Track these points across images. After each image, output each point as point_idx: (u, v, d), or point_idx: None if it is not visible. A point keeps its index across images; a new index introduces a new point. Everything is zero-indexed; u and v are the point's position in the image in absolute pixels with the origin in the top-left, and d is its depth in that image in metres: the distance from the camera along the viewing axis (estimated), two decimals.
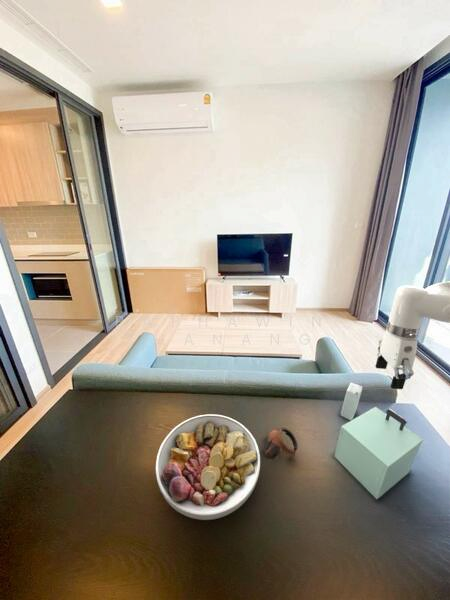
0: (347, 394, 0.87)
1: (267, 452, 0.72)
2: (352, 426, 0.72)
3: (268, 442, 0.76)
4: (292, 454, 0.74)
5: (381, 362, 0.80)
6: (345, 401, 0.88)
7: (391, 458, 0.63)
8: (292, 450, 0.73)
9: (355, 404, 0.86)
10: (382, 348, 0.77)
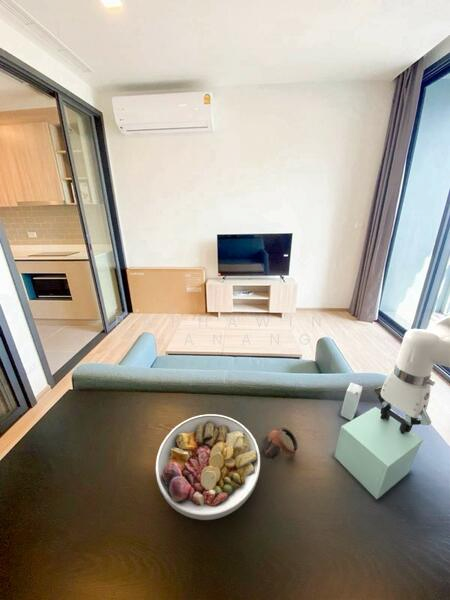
0: (347, 394, 0.87)
1: (267, 452, 0.72)
2: (352, 426, 0.72)
3: (268, 442, 0.76)
4: (292, 454, 0.74)
5: None
6: (345, 401, 0.88)
7: (391, 458, 0.63)
8: (292, 450, 0.73)
9: (355, 404, 0.86)
10: (386, 394, 0.71)
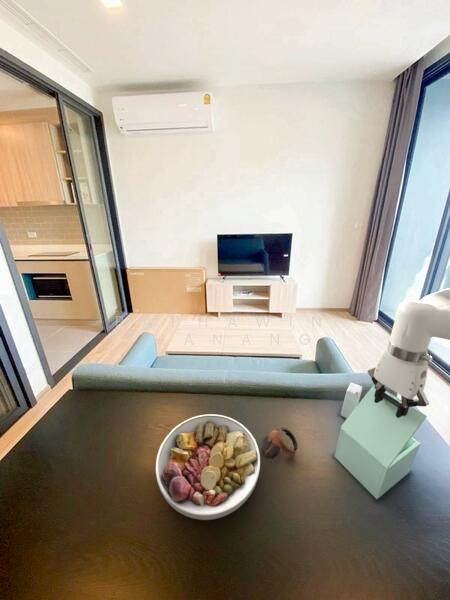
0: (347, 394, 0.87)
1: (267, 452, 0.72)
2: (351, 423, 0.71)
3: (268, 442, 0.76)
4: (292, 454, 0.74)
5: (380, 395, 0.67)
6: (345, 401, 0.88)
7: (390, 455, 0.61)
8: (292, 450, 0.73)
9: (355, 404, 0.86)
10: (380, 374, 0.65)
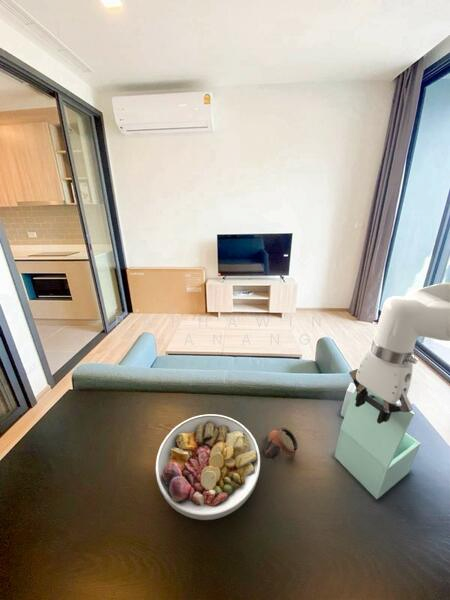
0: (347, 394, 0.87)
1: (267, 452, 0.72)
2: (348, 423, 0.70)
3: (268, 442, 0.76)
4: (292, 454, 0.74)
5: (362, 398, 0.63)
6: (345, 401, 0.88)
7: (387, 456, 0.61)
8: (292, 450, 0.73)
9: None
10: (362, 376, 0.60)
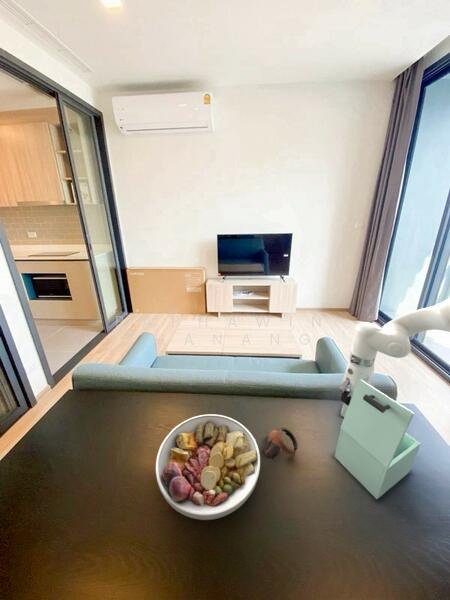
0: None
1: (267, 452, 0.72)
2: (348, 423, 0.70)
3: (268, 442, 0.76)
4: (292, 454, 0.74)
5: None
6: None
7: (387, 456, 0.61)
8: (292, 450, 0.73)
9: None
10: None
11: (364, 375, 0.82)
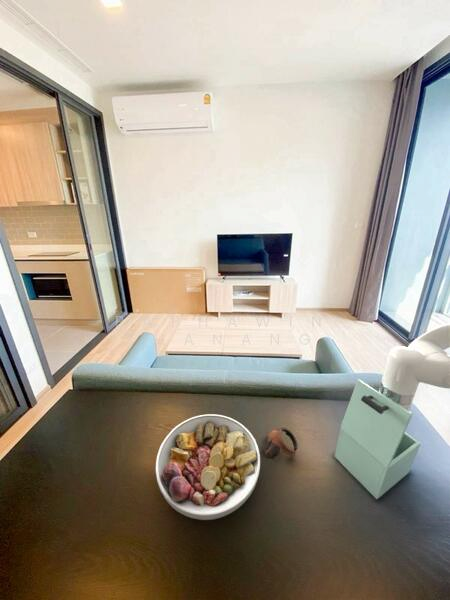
0: None
1: (267, 452, 0.72)
2: (347, 423, 0.70)
3: (268, 442, 0.76)
4: (292, 454, 0.74)
5: None
6: None
7: (387, 456, 0.60)
8: (292, 450, 0.73)
9: None
10: None
11: None
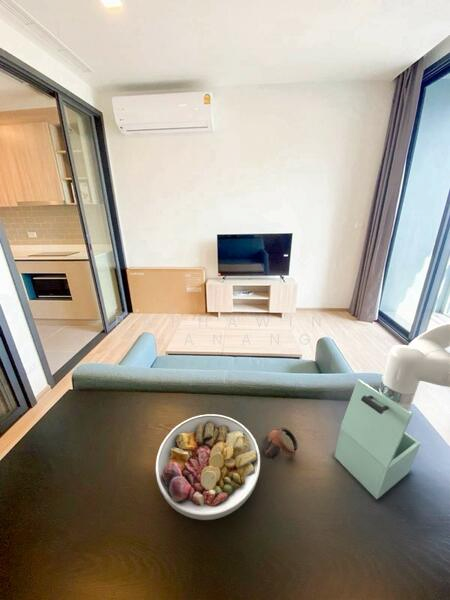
0: None
1: (267, 452, 0.72)
2: (347, 423, 0.70)
3: (268, 442, 0.76)
4: (292, 454, 0.74)
5: None
6: None
7: (387, 456, 0.60)
8: (292, 450, 0.73)
9: None
10: None
11: None
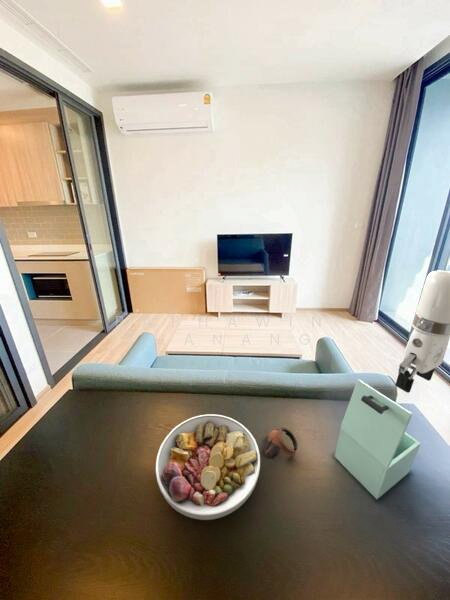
0: None
1: (267, 452, 0.72)
2: (347, 423, 0.70)
3: (268, 442, 0.76)
4: (292, 454, 0.74)
5: None
6: None
7: (387, 456, 0.60)
8: (292, 450, 0.73)
9: None
10: None
11: (438, 348, 0.56)
